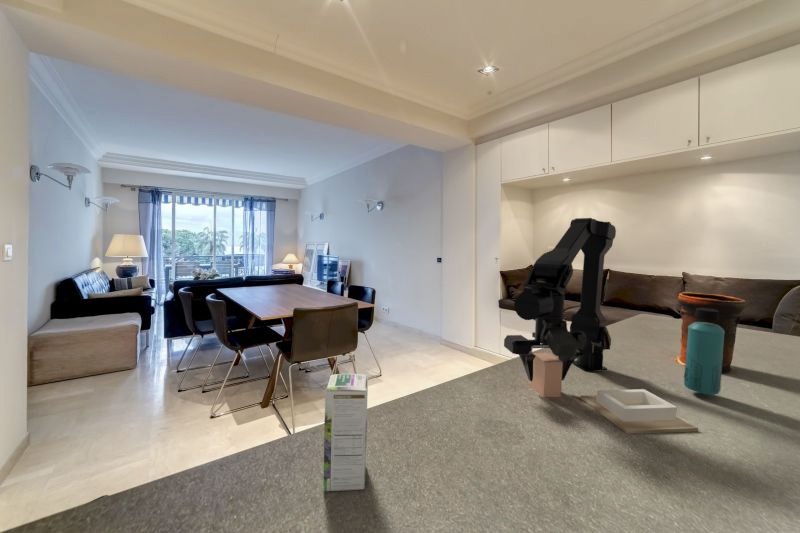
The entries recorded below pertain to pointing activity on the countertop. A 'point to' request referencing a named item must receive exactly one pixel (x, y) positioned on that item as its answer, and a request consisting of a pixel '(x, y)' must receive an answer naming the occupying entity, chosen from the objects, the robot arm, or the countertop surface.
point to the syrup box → (345, 432)
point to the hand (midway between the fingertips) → (546, 380)
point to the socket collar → (648, 412)
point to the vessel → (712, 321)
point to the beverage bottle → (704, 354)
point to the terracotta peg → (547, 375)
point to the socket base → (641, 426)
